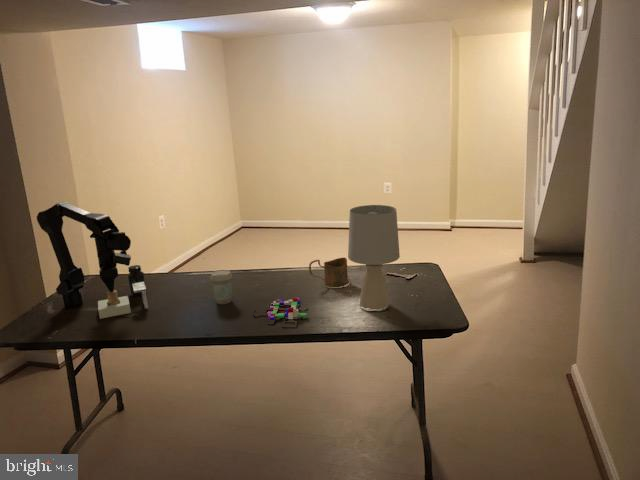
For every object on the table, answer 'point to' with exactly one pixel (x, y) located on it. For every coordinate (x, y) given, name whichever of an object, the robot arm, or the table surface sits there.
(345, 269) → the mug
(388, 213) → the lamp
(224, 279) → the coffee cup
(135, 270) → the supplement bottle
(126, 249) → the robot arm
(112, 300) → the peg
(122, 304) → the socket block
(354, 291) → the table surface
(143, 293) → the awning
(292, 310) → the building block set
